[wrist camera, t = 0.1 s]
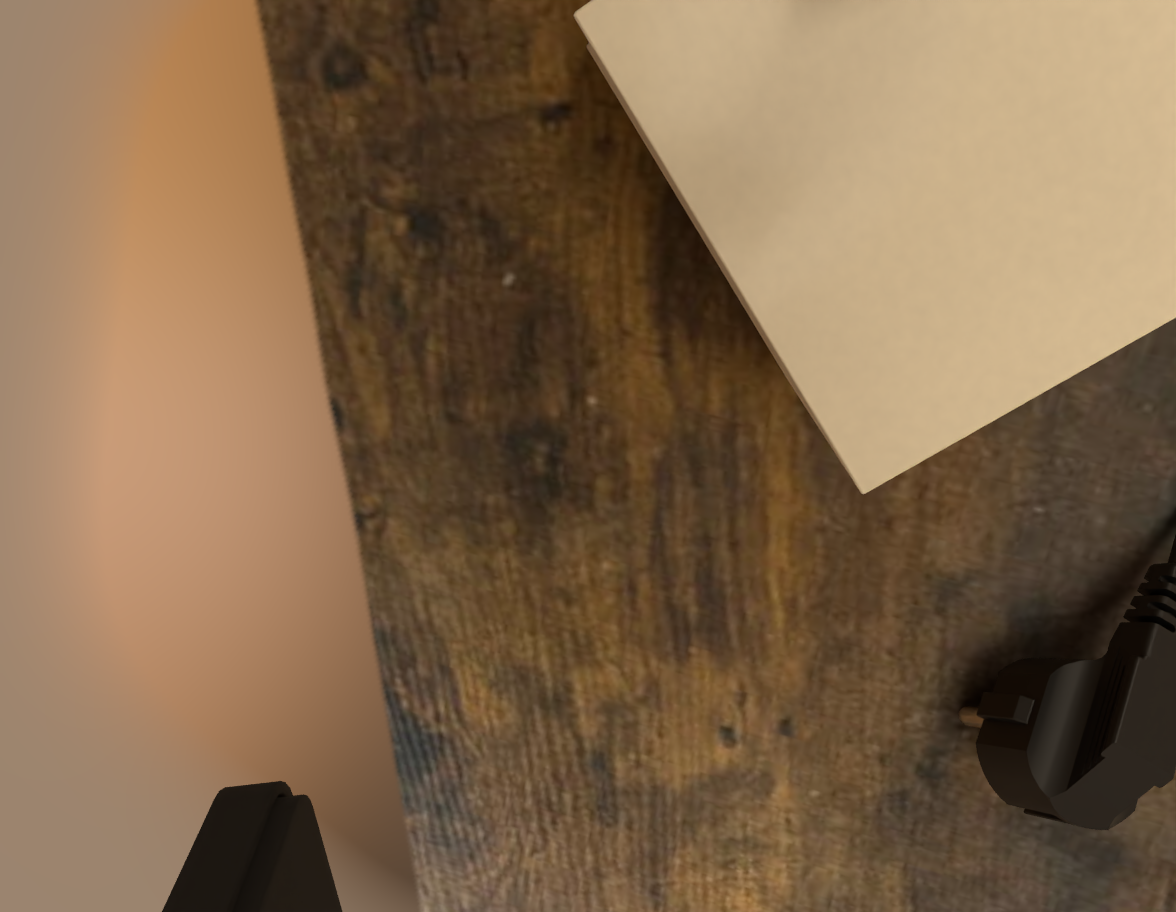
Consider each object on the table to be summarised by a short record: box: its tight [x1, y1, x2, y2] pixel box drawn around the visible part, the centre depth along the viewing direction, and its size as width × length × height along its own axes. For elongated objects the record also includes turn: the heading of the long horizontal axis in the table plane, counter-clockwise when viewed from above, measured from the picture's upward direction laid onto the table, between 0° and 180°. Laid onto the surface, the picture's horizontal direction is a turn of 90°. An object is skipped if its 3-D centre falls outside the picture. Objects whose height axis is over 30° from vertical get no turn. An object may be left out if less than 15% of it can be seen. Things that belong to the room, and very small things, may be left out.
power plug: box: [959, 536, 1176, 830], centre depth 38 cm, size 6×8×12 cm
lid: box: [574, 0, 1176, 494], centre depth 21 cm, size 13×15×5 cm
